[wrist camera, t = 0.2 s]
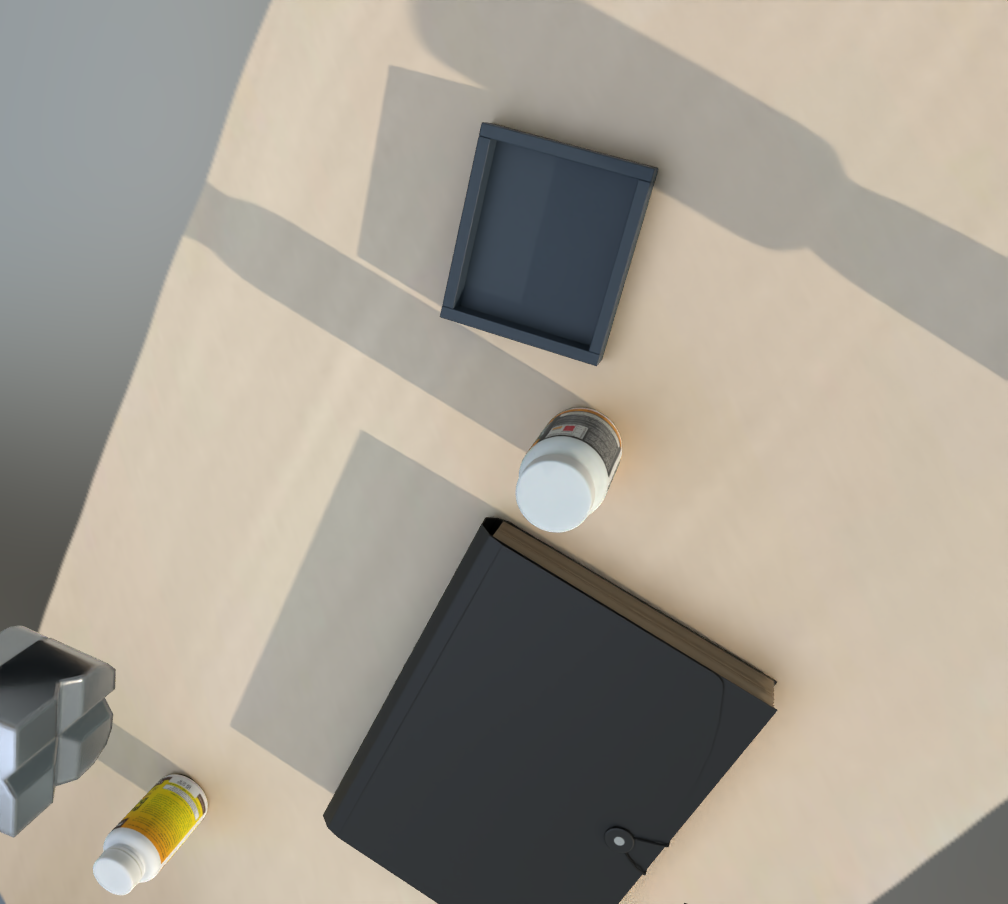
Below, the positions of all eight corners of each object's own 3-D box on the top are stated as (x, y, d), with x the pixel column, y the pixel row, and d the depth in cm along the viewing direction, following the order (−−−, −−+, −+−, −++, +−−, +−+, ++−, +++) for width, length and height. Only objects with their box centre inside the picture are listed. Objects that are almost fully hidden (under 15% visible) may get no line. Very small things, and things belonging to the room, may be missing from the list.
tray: (490, 123, 55) (481, 122, 53) (658, 168, 53) (655, 168, 51) (449, 312, 60) (439, 317, 58) (601, 359, 58) (596, 366, 56)
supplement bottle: (168, 760, 82) (92, 839, 72) (217, 792, 81) (147, 875, 72) (153, 798, 84) (77, 879, 74) (201, 829, 83) (131, 914, 74)
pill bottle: (538, 408, 60) (499, 453, 51) (620, 402, 58) (594, 448, 49) (548, 484, 62) (512, 541, 53) (628, 481, 60) (605, 539, 51)
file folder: (557, 984, 71) (314, 825, 74) (567, 943, 75) (336, 793, 77) (780, 715, 58) (474, 530, 60) (779, 681, 62) (492, 508, 64)
